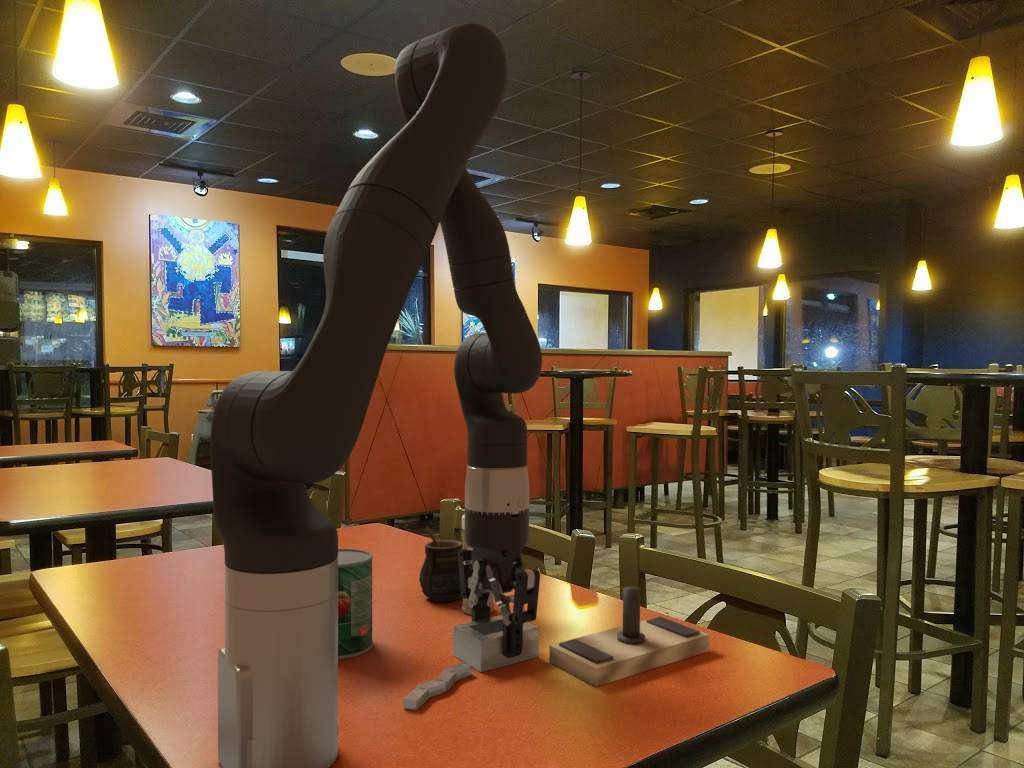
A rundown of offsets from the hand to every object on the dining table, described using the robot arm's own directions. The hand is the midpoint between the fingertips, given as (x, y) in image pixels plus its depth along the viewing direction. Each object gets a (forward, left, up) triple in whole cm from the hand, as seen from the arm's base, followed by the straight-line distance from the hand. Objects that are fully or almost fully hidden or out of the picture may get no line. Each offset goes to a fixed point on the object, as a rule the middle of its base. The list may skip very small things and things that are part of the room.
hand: (496, 646), depth 87 cm
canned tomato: (-14, +13, -1) cm, 19 cm away
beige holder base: (+13, -9, -1) cm, 16 cm away
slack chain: (-10, -4, -1) cm, 11 cm away
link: (0, 0, -1) cm, 1 cm away
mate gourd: (+6, +23, -1) cm, 24 cm away
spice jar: (+7, +15, -1) cm, 17 cm away
